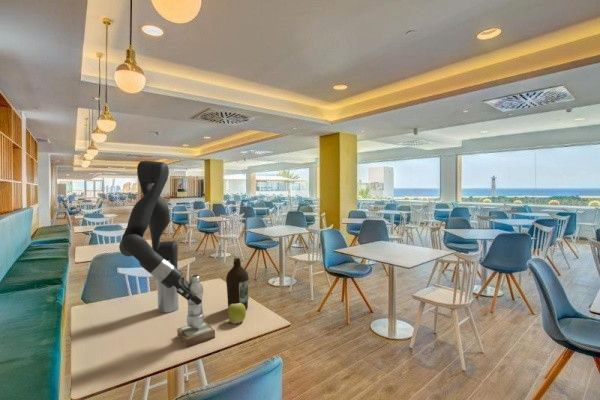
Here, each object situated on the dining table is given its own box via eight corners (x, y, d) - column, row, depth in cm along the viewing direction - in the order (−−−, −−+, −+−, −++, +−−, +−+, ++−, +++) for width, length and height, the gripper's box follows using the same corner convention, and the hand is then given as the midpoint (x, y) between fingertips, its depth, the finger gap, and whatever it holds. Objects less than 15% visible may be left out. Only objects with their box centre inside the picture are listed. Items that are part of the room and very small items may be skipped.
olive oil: (222, 310, 148) (221, 259, 147) (236, 303, 157) (235, 254, 156) (239, 315, 143) (238, 261, 142) (253, 307, 152) (252, 257, 151)
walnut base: (177, 336, 123) (177, 328, 123) (204, 327, 130) (203, 320, 130) (187, 347, 115) (186, 338, 115) (215, 337, 122) (214, 329, 122)
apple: (244, 324, 131) (237, 301, 131) (228, 328, 133) (221, 305, 133) (251, 316, 139) (244, 295, 139) (235, 320, 141) (229, 299, 141)
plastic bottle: (207, 323, 125) (206, 274, 124) (196, 330, 118) (195, 279, 117) (194, 321, 127) (193, 273, 126) (183, 328, 120) (182, 277, 119)
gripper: (172, 270, 112) (207, 298, 117) (174, 261, 126) (205, 287, 130) (157, 286, 111) (192, 314, 115) (160, 275, 124) (192, 301, 129)
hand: (199, 299), depth 122 cm, fingers closed on plastic bottle, 6 cm apart
